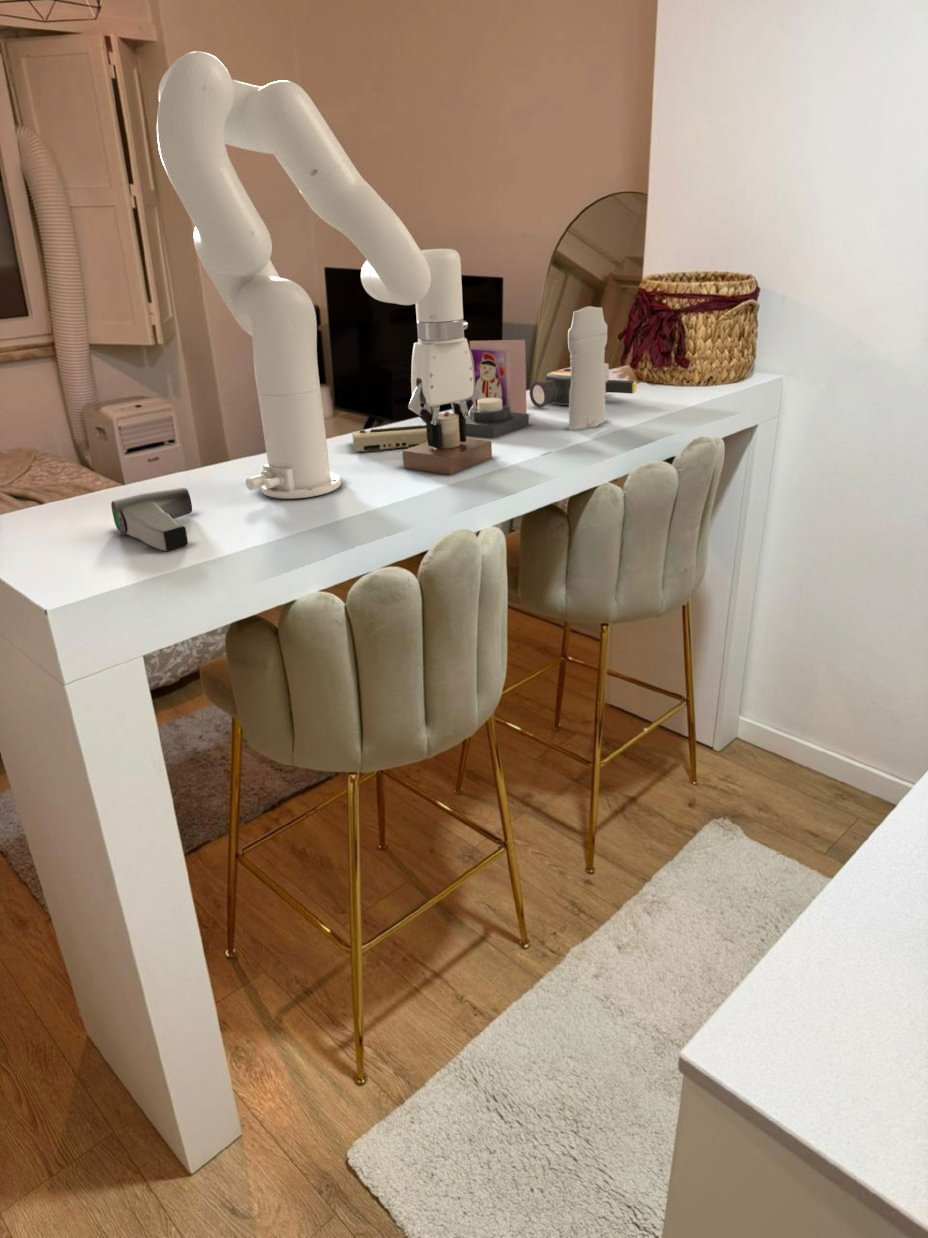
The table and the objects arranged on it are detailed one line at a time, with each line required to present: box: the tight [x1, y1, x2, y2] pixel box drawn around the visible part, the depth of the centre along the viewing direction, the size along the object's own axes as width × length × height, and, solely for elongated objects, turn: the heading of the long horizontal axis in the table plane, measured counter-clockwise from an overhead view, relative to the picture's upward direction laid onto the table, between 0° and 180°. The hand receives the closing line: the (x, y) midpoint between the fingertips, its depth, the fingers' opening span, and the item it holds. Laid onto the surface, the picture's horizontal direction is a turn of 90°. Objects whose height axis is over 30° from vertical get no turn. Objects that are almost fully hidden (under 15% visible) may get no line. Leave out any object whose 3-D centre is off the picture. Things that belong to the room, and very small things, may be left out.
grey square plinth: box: [466, 405, 530, 439], centre depth 173 cm, size 12×10×4 cm
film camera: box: [529, 362, 638, 409], centre depth 189 cm, size 7×19×15 cm
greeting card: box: [469, 339, 528, 414], centre depth 181 cm, size 11×7×15 cm, turn 42°
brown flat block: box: [402, 437, 493, 476], centre depth 151 cm, size 12×10×3 cm
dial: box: [438, 411, 460, 449], centre depth 150 cm, size 4×4×5 cm
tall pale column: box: [567, 305, 608, 431], centre depth 168 cm, size 11×4×22 cm, turn 132°
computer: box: [351, 424, 428, 452], centre depth 165 cm, size 16×8×3 cm, turn 99°
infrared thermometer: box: [110, 487, 193, 552], centre depth 125 cm, size 5×12×15 cm
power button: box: [477, 398, 502, 412], centre depth 172 cm, size 5×5×2 cm
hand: (447, 442), depth 150 cm, fingers closed on dial, 4 cm apart
